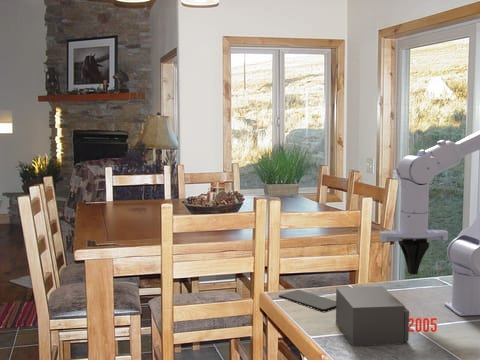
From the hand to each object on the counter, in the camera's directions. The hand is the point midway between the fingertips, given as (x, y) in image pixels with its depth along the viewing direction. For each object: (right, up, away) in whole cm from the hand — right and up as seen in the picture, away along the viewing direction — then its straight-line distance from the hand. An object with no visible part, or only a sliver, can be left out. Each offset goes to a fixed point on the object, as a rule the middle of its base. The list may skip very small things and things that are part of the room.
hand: (412, 273), depth 127 cm
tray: (-10, -10, -9) cm, 17 cm away
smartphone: (-21, -9, +11) cm, 25 cm away
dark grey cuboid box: (-12, -11, -9) cm, 18 cm away
